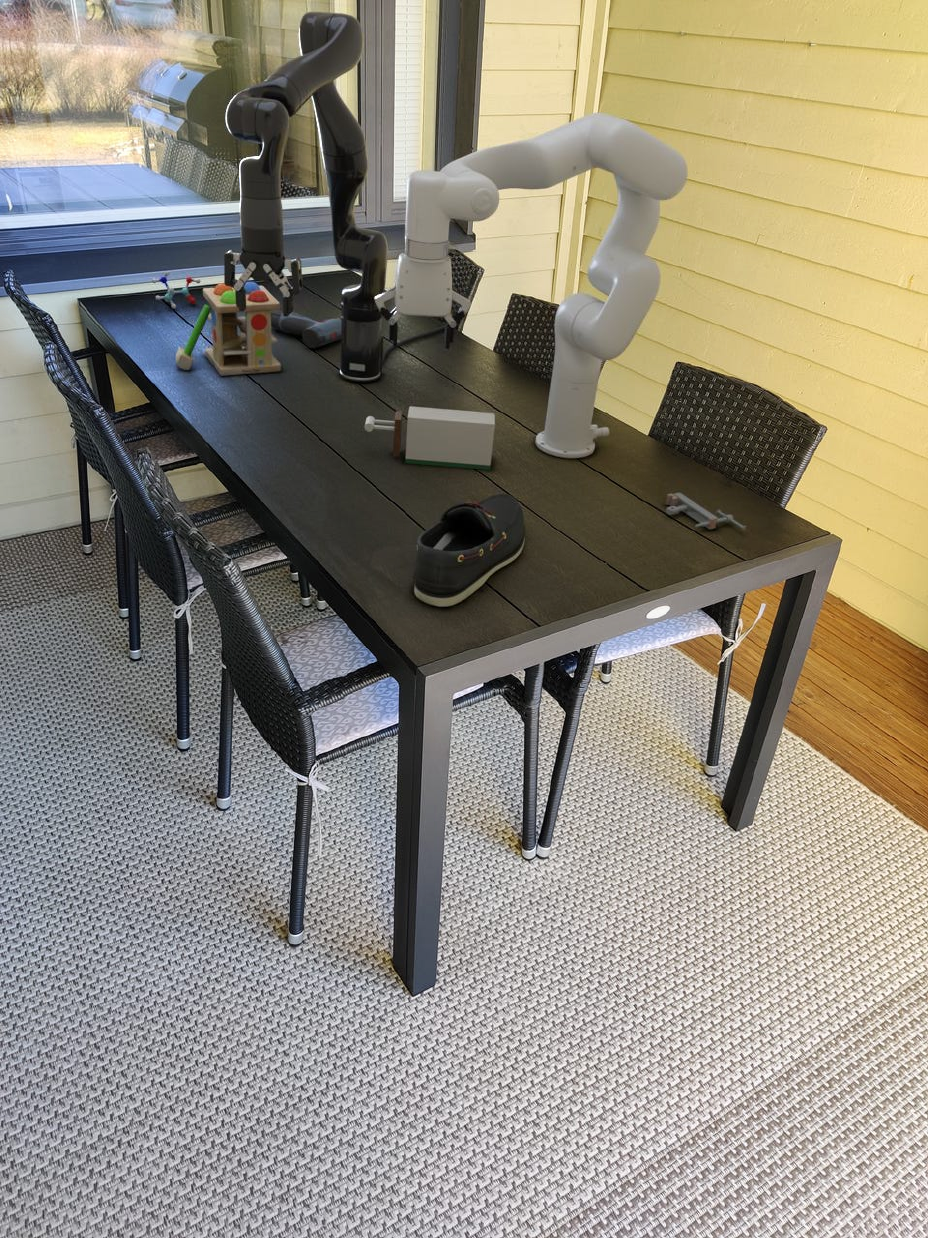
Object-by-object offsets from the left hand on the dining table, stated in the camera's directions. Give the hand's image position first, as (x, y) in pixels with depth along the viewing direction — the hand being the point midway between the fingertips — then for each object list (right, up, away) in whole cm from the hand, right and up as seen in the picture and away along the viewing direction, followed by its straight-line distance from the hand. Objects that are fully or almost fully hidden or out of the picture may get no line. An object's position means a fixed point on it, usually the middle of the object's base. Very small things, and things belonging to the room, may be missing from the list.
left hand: (264, 312), depth 184 cm
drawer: (+28, -25, +12) cm, 39 cm away
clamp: (+82, -39, 0) cm, 91 cm away
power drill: (-2, +16, +69) cm, 71 cm away
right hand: (+30, -7, -4) cm, 31 cm away
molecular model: (-41, +27, +80) cm, 93 cm away
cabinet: (+34, -26, +13) cm, 45 cm away
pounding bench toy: (-19, +2, +46) cm, 50 cm away
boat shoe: (+39, -48, -19) cm, 64 cm away
